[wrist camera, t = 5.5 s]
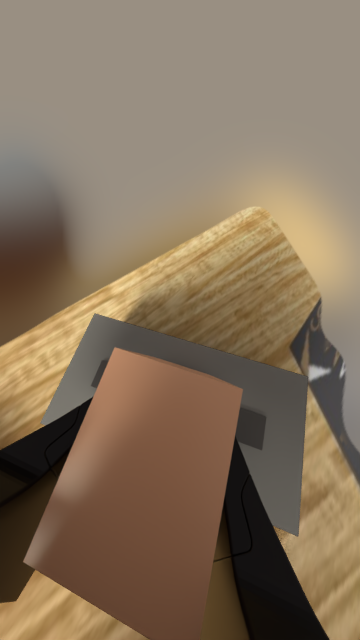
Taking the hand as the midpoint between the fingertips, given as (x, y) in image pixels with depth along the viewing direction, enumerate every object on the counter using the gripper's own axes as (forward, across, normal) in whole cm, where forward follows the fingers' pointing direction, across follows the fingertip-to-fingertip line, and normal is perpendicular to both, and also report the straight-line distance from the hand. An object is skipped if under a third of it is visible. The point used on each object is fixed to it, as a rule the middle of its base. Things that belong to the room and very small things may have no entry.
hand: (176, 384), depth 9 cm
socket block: (+4, 0, +6) cm, 8 cm away
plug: (+4, 0, +6) cm, 7 cm away
